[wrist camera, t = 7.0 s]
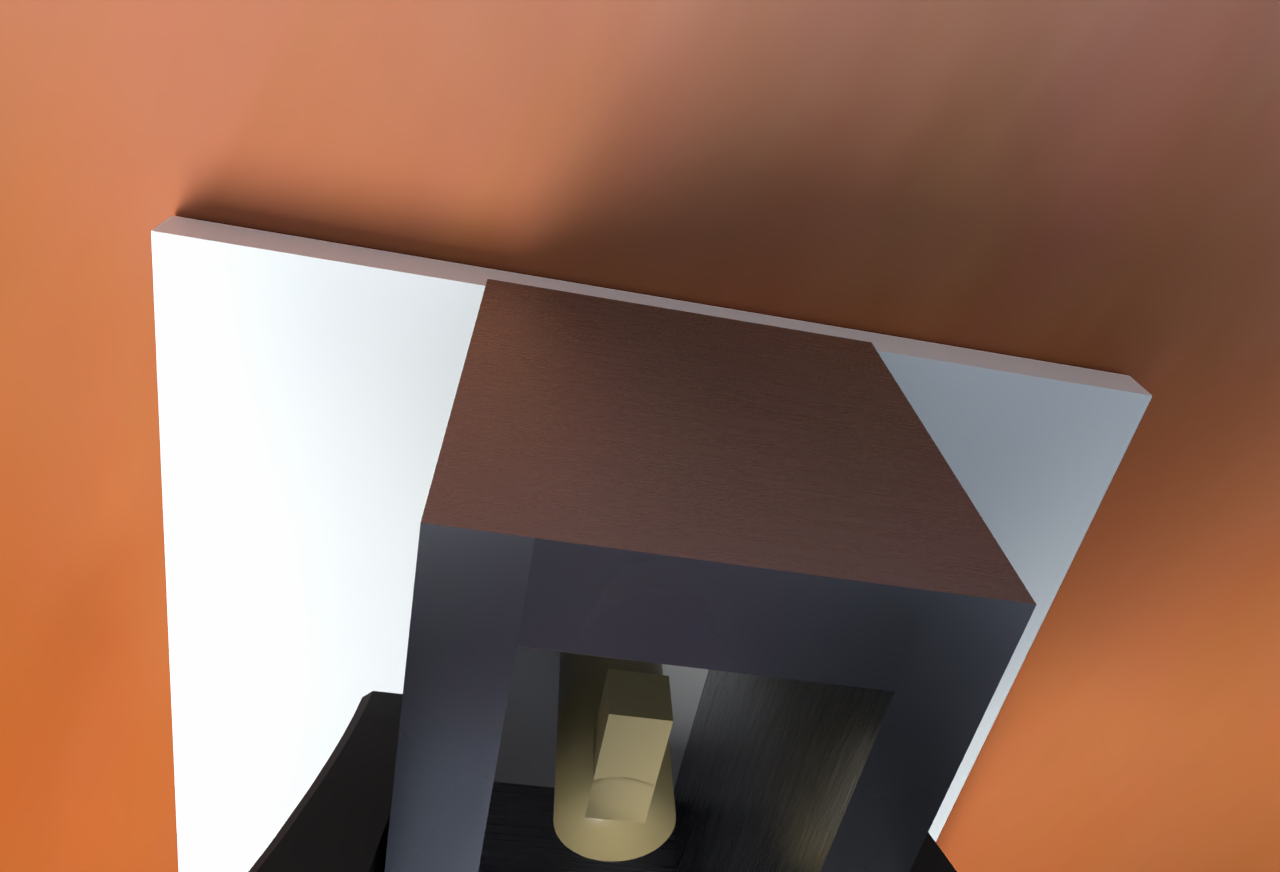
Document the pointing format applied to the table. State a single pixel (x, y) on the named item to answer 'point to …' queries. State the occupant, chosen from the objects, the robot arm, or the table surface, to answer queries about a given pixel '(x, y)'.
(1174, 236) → the table surface
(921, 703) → the grey open storage bin
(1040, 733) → the table surface
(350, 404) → the keeper plate
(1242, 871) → the table surface
